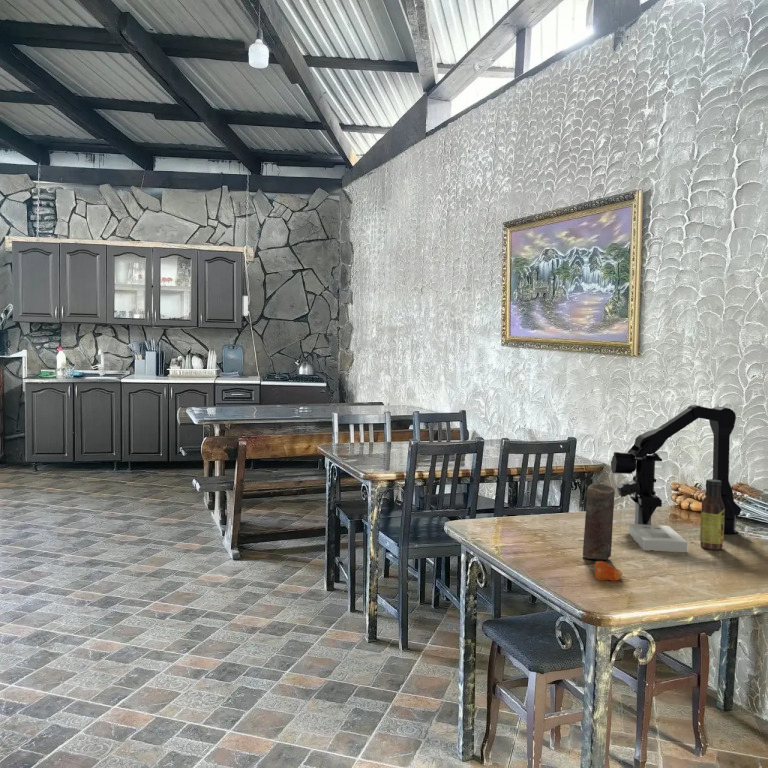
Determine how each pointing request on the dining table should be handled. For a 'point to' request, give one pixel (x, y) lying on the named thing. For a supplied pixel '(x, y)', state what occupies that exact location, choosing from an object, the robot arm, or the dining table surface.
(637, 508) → the plug
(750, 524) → the dining table surface
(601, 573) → the rock
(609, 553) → the candle
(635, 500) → the robot arm
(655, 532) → the socket plate
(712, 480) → the sauce bottle
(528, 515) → the dining table surface
